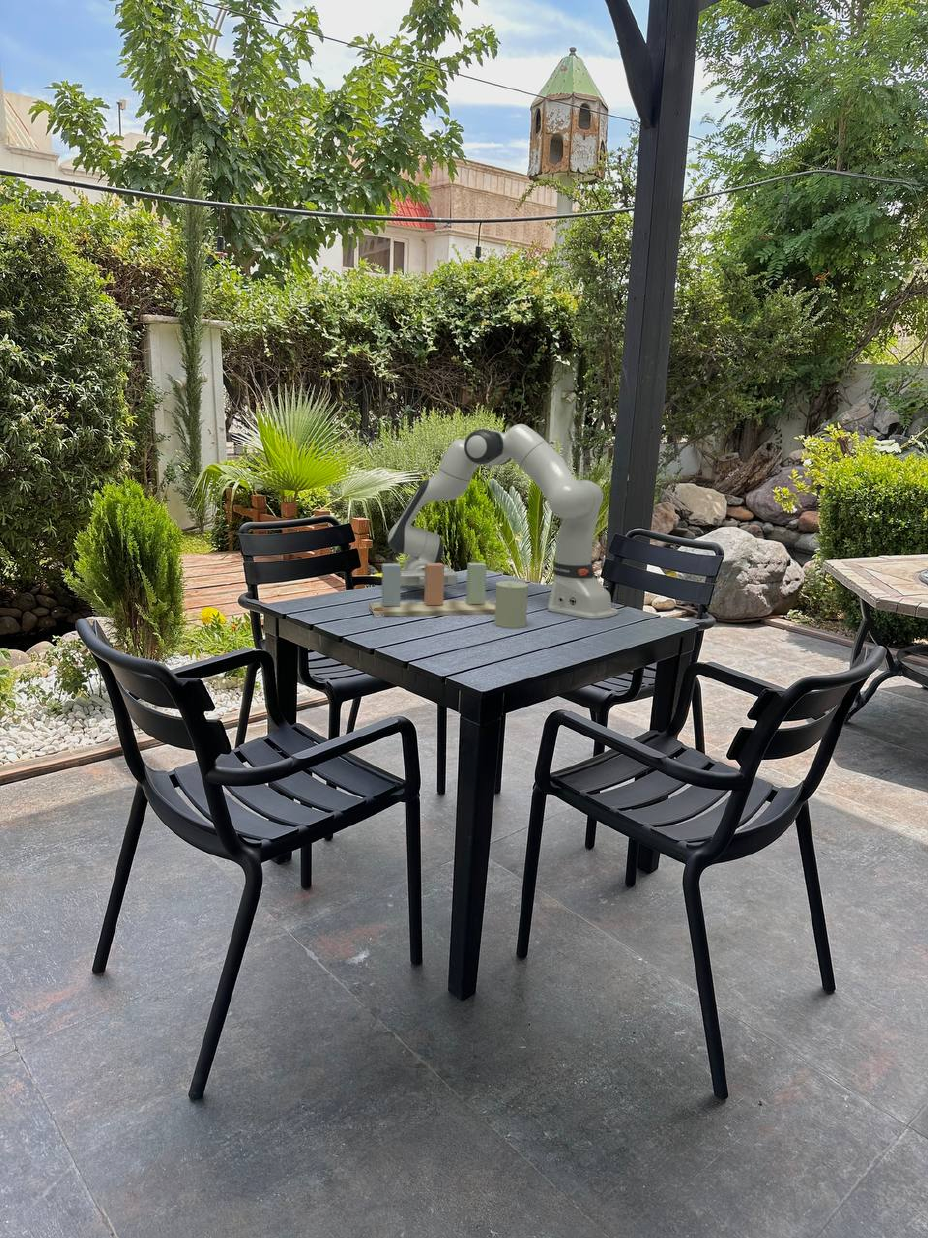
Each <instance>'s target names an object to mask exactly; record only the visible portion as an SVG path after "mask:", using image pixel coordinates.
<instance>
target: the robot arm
mask: <svg viewBox="0 0 928 1238" xmlns="http://www.w3.org/2000/svg"><path fill="white" fill-rule="evenodd" d="M511 461H513V462H515V463H516V464H517V465H518V467H520V468H521V470H523V472H524V473H525V474H526V475H527V476H528V477H529V478H530V479H531V480H532V481H533V482H534V483H535V484H536V485H537V487H538V488H539V489H540V491H541V493H542V495H543V496H544V498H545V499H546V500H547V502H548V505H549V509H550V510H551V512H552V513H553V514H554V515H555V516H556V517H558V518H560V519H562V520H561V524H560V527H559V530H558V532H557V534H556V537H555V538H556V539H555V555H554V556H555V557H554V561H553V565H552V574H553V580H552V586H551V590H550V595H549V597H548V598H549V599H548V602H547V604H546V606H547V611H549V612H553V613H558V614H563V615H568V616H573V617H578V618H584V619H589V620H590V619H591V620H592V619H593V620H596V619H605V618H609V617H614V616H616V615H618V614H619V610H618V609H616V608H614V607H612V600H611V594H610V592H609V591H608V590H607V589H606V588H605V587H604V585H602V583H601V582H600V581H599V579H597V577H595V576H596V574H595V573H596V572H598V569H599V568H598V567H594V566H593V563H592V556H593V554H592V553H593V542H594V535H595V532H596V531H595V530H596V526H597V523H598V518H599V513H600V510H601V506H602V504H603V502H604V492H603V490H602V488H601V487H600V486H599V485H598V484H597V483H596V482H593V481H591V480H589V479H588V480H587V479H582V480H578V479H577V478H576V477H575V476H574V475H573V474H572V472H571V471H570V469H569V467H568V465H567V463H566V461H565V459H564V457H562V456H561V455H560V454H559V453H558V452H557V451H556V449H554V447H552V446H551V445H550V444H549V443H548V442H547V440H545V439H544V438H543V437H542V436H541V435H540V434H539V433H537V432H536V431H535V430H534V429H532V428H531V427H529V426H528V425H526V424H523V423H519V424H518V423H517V424H514V425H513V426H511V427H510V428H509V429H508V430H507V431H506V432H504V431H499V430H496V429H490V428H489V429H484V428H482V429H481V428H480V429H477V430H474V431H472V432H470V433H469V434H468V435H467V436H466V438H465V439H455V440H453V441H452V442H451V443H450V445H449V447H448V448H447V450H446V452H445V453H444V455H443V457H442V459H441V461H440V464H439V466H438V469H437V470H436V472H435V473H434V475H433V476H431V477H430V478H428V479H424V480H423V481H422V482H421V483H420V484H419V485H418V487H417V489H416V490H415V492H414V493H413V494H412V497H411V498H410V500H409V501H408V503H407V505H406V506H405V508H404V510H403V511H402V513H401V515H400V516H399V517H398V519H397V520H396V522H395V523H394V525H393V526H392V528H391V529H390V531H389V534H388V535H387V536H388V537H387V544H388V547H389V548H390V549H391V550H392V551H393V553H398V554H400V555H403V554H404V555H407V556H408V557H406V559H405V561H404V563H403V570H401V587H415V588H416V589H420V590H425V563H441V562H440V561H441V560H442V557H443V553H444V548H445V546H444V542H443V539H442V536H441V535H440V534H438V533H435V532H432V531H430V530H429V531H428V530H426V529H422V528H419V527H416V526H413V525H412V524H413V522H414V521H415V519H416V517H417V515H419V512H420V510H421V509H422V507H423V506H424V505H426V504H429V503H432V502H443V501H444V502H447V501H453V500H456V499H458V498H461V496H463V495H464V494H465V492H466V491H467V489H468V487H469V486H470V485H469V484H470V482H471V480H472V477H473V475H474V472H475V470H476V469H477V467H479V465H483V466H487V467H488V466H489V467H493V466H494V467H495V466H503V465H505V464H507V463H509V462H511ZM443 565H444V586H456V585H458V577H459V575H458V573H457V571H455V570H454V569H452V568H449V565H447V564H443Z"/></svg>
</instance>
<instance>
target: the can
mask: <svg viewBox="0 0 928 1238" xmlns="http://www.w3.org/2000/svg"><path fill="white" fill-rule="evenodd" d="M528 591H529V584H528V583H526V582H522V581H515V580H514V581H513V580H501V581H498V582H496V583H495V602H494V603H495V614H494V622H493V624H494V625H495V626H497V627H502V628H508V629H518V628H519V629H520V628H524V627H525V626H527V612H528V611H527V610H528V607H527V606H528Z"/></svg>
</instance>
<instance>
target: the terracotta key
mask: <svg viewBox="0 0 928 1238" xmlns="http://www.w3.org/2000/svg"><path fill="white" fill-rule="evenodd" d="M444 565H445V564H443V563H442V562H439V563H425V589H424V601H423V602H425V604H426V605H443V601H444V591H445V590H444V587H445V585H444Z"/></svg>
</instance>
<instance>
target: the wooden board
mask: <svg viewBox="0 0 928 1238" xmlns="http://www.w3.org/2000/svg"><path fill="white" fill-rule="evenodd" d="M495 603H496V602H494V601H493V600H492V599H488V600H487V599H485V604H468V603H467V602H466V600H448V601H447V600H443V605H426V604H425V602H424V601H401V602H400V606H383V604H382V602H369V606H370V608H371V610H372V612H373V614H374V616H377V615H381V616H383V615H384V616H408V617H435V616H436V617H437V616H438V617H443V616H444V617H445V616H446V617H447V616H476V615H477V616H480V615H495ZM370 608H369V609H370ZM371 610H370V611H371ZM372 612H371V613H372ZM373 614H372V615H373ZM374 616H373V617H374Z"/></svg>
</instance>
